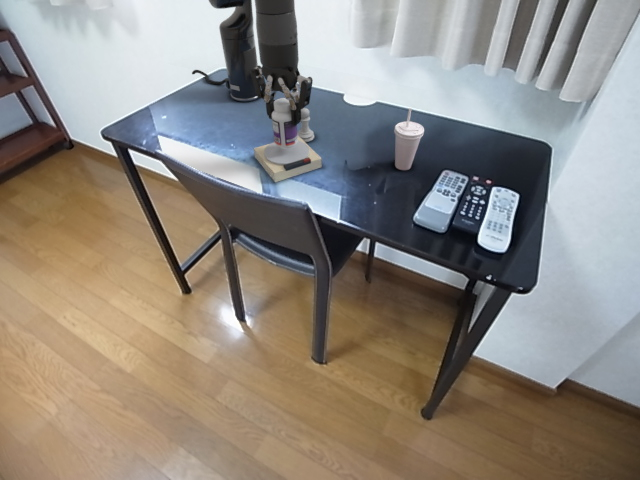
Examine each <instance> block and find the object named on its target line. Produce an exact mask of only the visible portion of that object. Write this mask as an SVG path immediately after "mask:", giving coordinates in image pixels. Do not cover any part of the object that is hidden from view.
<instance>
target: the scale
mask: <svg viewBox="0 0 640 480" xmlns="http://www.w3.org/2000/svg"><path fill="white" fill-rule="evenodd" d="M253 153H254V158H255V159H256V160H257V162H258V163H259V164H260V166H262V168H263V169H264V170H265V172H266V173H267V174H268V175H269V177H270V178H271V179H272V181H273V182H274V183H278V182H281V181H284V180H287V179H290V178H294V177H297V176H300V175H303V174H305V173H308V172H311V171H314V170H318V169H321V168H323V166H322V165H323V164H322V162H323V161H322V157H321V156H320V155H319V154H318V153H317V152H316V151H315V150H314V149H313V148H312V147H310V145H308V143H307V142H304V141H303V140H302V139H301V138H300V137H299V136H298V142H297V144H296V145H295V146H293V147H291V148H280V147H278V146H276V144H275V141H273V142H270V143H268V144H263V145H259V146H257V147H254V148H253Z"/></svg>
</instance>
